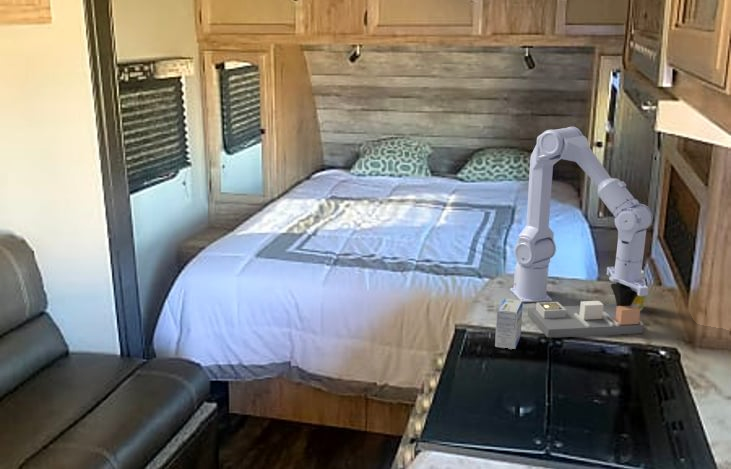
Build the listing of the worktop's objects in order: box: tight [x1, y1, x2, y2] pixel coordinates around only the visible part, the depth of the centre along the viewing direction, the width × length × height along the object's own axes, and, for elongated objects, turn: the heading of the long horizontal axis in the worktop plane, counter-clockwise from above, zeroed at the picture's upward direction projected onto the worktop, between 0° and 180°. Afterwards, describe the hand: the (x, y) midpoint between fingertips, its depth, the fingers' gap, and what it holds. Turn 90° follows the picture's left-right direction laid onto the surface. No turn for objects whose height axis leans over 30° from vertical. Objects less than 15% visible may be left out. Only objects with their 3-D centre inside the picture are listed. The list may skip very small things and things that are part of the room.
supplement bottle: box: [631, 269, 647, 311], centre depth 182 cm, size 5×5×10 cm
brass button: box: [543, 301, 559, 310], centre depth 173 cm, size 4×4×2 cm
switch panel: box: [527, 301, 644, 339], centre depth 172 cm, size 13×22×4 cm, turn 98°
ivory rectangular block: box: [579, 300, 604, 320], centre depth 171 cm, size 2×4×4 cm, turn 98°
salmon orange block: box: [615, 305, 641, 325], centre depth 168 cm, size 2×4×4 cm, turn 98°
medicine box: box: [494, 298, 524, 350], centre depth 161 cm, size 8×4×9 cm, turn 160°
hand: (622, 314), depth 170 cm, fingers closed
